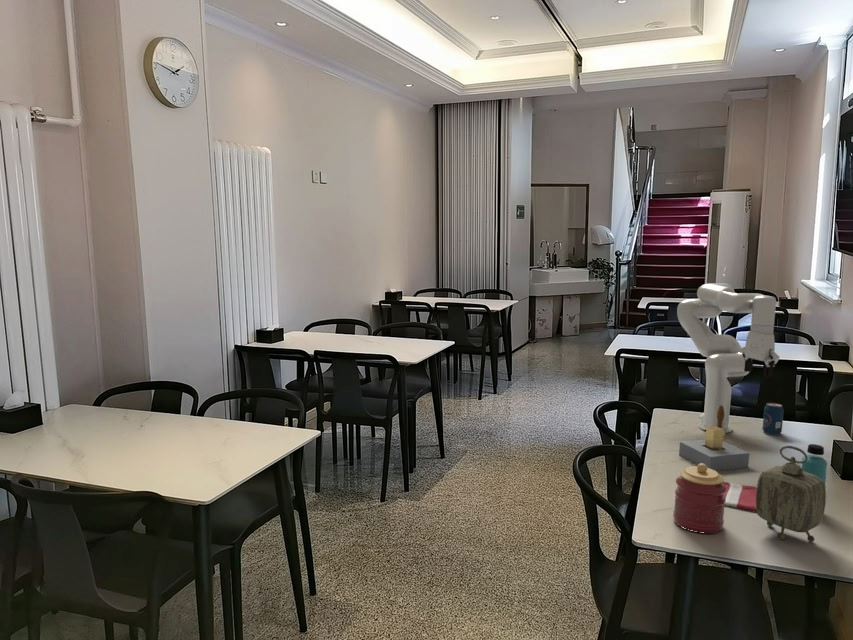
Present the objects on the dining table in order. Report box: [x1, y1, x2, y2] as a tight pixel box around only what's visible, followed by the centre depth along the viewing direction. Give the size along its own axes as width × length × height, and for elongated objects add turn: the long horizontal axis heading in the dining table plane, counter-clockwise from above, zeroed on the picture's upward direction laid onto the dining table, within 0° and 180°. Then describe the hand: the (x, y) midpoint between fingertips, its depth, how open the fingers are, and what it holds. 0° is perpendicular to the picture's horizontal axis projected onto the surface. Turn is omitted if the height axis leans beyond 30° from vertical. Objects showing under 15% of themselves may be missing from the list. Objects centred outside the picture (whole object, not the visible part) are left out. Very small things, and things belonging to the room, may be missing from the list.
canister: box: [672, 463, 727, 534], centre depth 177 cm, size 13×13×18 cm
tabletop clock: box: [756, 445, 827, 542], centre depth 170 cm, size 14×9×25 cm, turn 35°
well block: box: [678, 439, 750, 471], centre depth 227 cm, size 16×16×5 cm
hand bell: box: [717, 405, 727, 443], centre depth 242 cm, size 8×8×16 cm
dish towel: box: [722, 481, 757, 513], centre depth 197 cm, size 17×23×3 cm
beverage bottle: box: [801, 443, 828, 490], centre depth 186 cm, size 6×7×20 cm
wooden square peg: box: [704, 426, 724, 451], centre depth 227 cm, size 4×4×12 cm
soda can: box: [762, 402, 785, 436], centre depth 259 cm, size 7×7×12 cm
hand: (757, 374), depth 239 cm, fingers open, 9 cm apart
